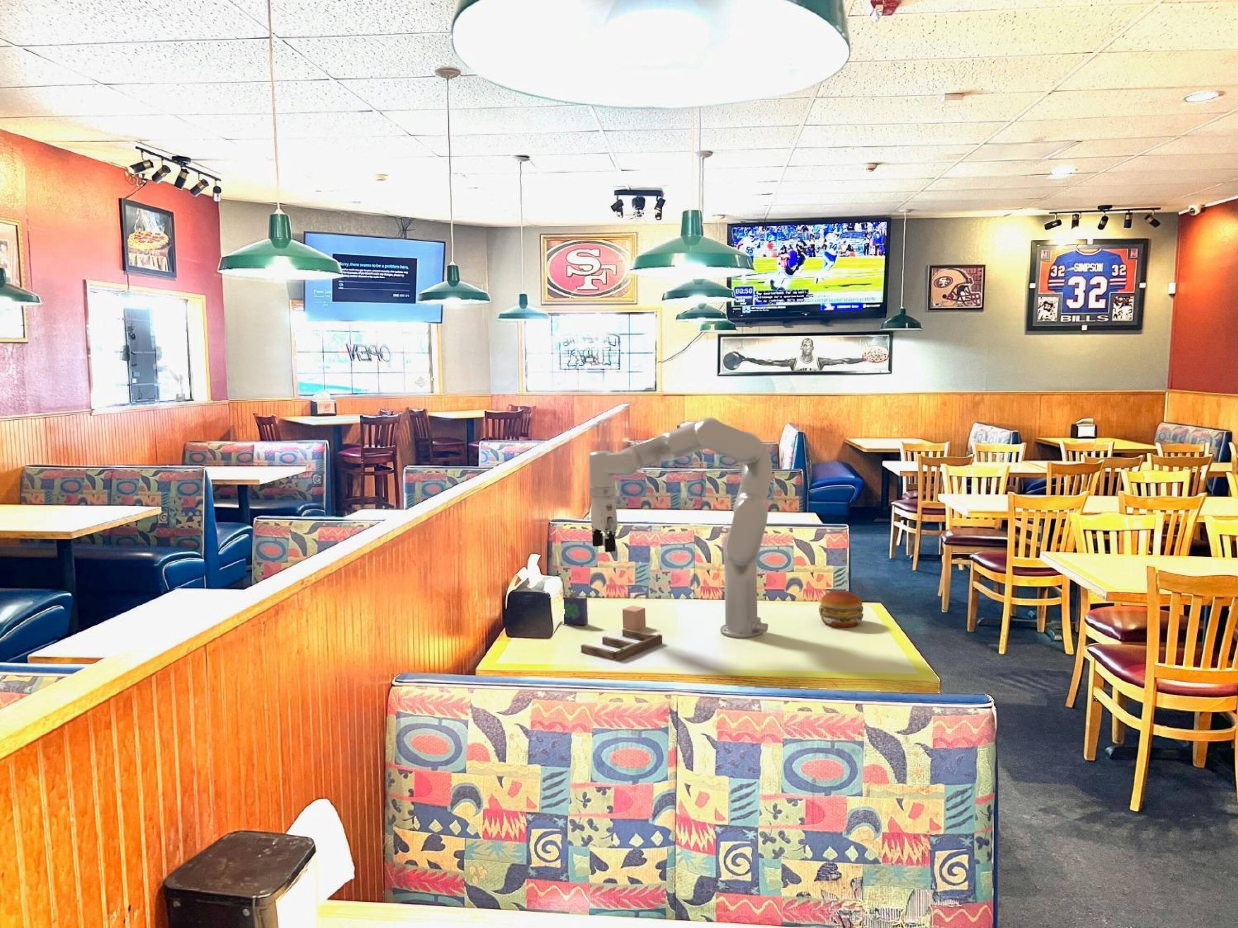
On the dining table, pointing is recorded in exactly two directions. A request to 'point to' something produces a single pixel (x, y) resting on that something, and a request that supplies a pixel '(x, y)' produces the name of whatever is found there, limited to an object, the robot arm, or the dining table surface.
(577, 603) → the dark blue pouch
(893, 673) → the dining table surface
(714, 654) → the dining table surface
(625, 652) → the comb rack
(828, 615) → the burger
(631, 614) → the block
